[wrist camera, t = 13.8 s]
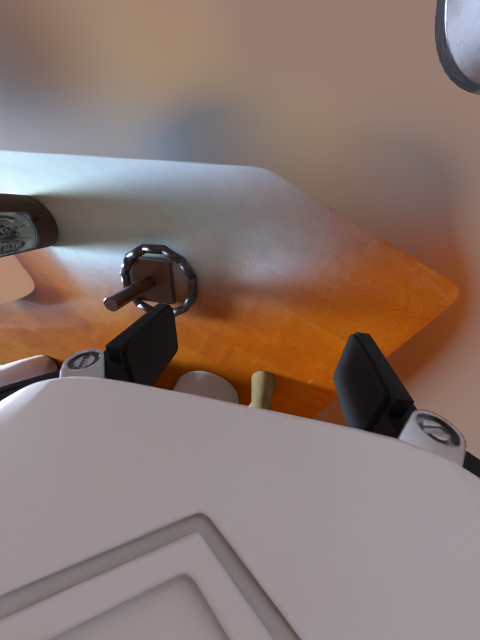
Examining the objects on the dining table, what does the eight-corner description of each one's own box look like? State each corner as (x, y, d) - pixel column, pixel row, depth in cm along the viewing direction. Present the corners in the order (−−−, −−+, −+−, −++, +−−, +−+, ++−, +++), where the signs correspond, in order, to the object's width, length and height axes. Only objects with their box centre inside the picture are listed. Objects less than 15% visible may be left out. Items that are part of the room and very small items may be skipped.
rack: (129, 255, 41) (75, 273, 30) (171, 260, 40) (130, 281, 29) (138, 296, 45) (93, 324, 35) (176, 301, 44) (142, 332, 34)
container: (217, 424, 64) (201, 479, 51) (166, 394, 61) (135, 444, 48) (252, 396, 55) (243, 454, 42) (193, 358, 52) (164, 409, 39)
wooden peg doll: (255, 367, 50) (248, 406, 40) (278, 375, 49) (277, 415, 40) (248, 384, 53) (241, 422, 43) (270, 391, 52) (268, 431, 43)
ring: (115, 240, 38) (110, 242, 37) (195, 246, 38) (193, 248, 36) (132, 311, 46) (128, 315, 44) (199, 317, 45) (197, 321, 44)
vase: (60, 385, 70) (-38, 465, 48) (21, 358, 66) (-104, 431, 45) (75, 367, 63) (-31, 451, 42) (32, 336, 59) (-109, 410, 38)
